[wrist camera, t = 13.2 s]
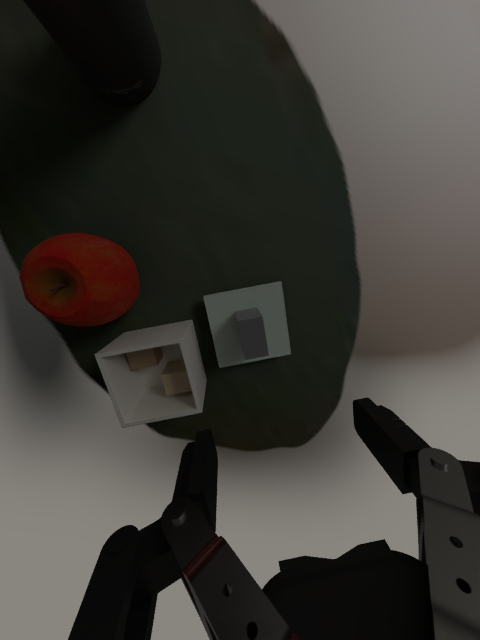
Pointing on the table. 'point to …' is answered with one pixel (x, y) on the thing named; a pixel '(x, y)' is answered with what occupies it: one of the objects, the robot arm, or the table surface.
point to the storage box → (154, 373)
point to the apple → (80, 279)
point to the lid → (248, 324)
